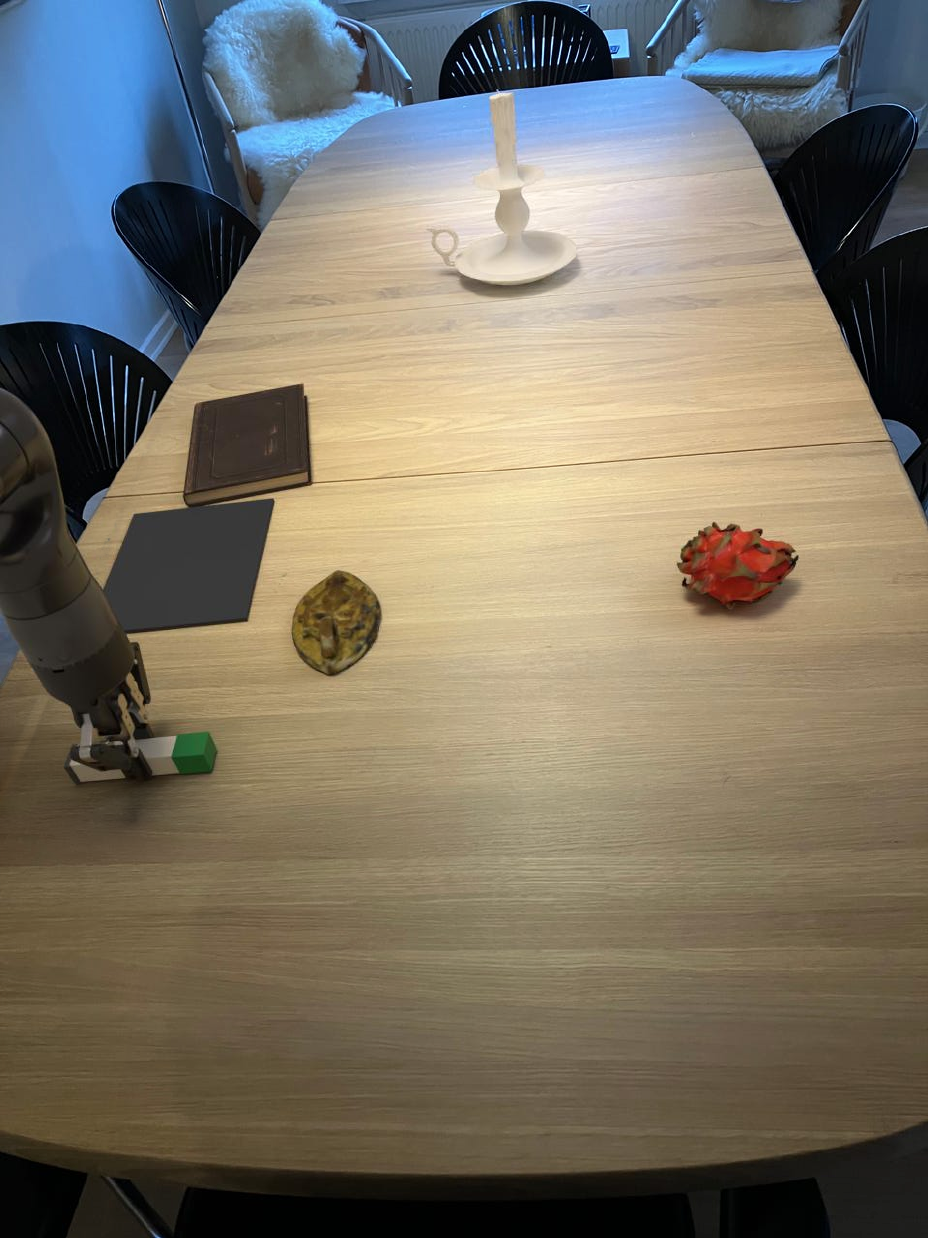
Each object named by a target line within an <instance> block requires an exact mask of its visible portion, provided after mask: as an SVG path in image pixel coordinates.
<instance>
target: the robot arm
mask: <svg viewBox="0 0 928 1238" xmlns="http://www.w3.org/2000/svg"><path fill="white" fill-rule="evenodd" d="M57 465H58V464H57V461H56V455H55V452H54V449H53V446H52V443H51V440H50V438H49V435H48V433H47V430H46V429H45V427H44V426H43V424H42V422H41V421H40V419H39V418H38V417H37V415H36V414H35V413H34V411H33V410H32V409H31V408H30V407H29V406H28V405H27V403H25V402H24V401H22V400H21V399H20V398H19V397H18V396H16V395H14V394H13V393H11V392H9V391H8V390H6V389H3V388H2V387H0V614H1V615H2V617H3V620H4V622H5V625H6V627H7V629H8V632H9V633H10V635H11V637H12V639H13V640H14V642H15V643H16V645H17V647H18V648H19V650H20V652H21V653H22V654H23V656H24V658H25V659H26V661H27V662H28V665H29V666H30V667H31V669H32V671H33V673H34V674H35V675H36V677H37V678H38V680H39V682H40V683H41V685H42V686H43V688H44V689H45V691H46V693H48V695H49V696H51V697H52V698H54V699H55V700H57V701H60V702H61V703H63V704H65V705H67V706H68V707H69V708H70V709H71V712H72V716H73V721H74V723H75V725H76V726H77V727H78V728H80V729H81V730H80V743H78V745H79V746H72V745H71V746H72V747H70V749H71V750H70V749H69V752H70V757H71V759H72V760H73V761H75V762H78V763H80V764H83V765H85V766H88V767H90V768H93V769H95V770H98V771H101V772H103V771H108V770H119V769H121V771H122V773H123V774H124V776H125V778H124V779H125V780H126V781H127V782H129V783H133V782H144V781H149V780H151V779H152V776H153V775H152V770H151V768H150V766H149V764H148V763H147V761H146V759H145V757H144V755H143V753H142V751H141V749H140V748H138V745H137V743H136V741H135V740H140V739H151V738H156V735H155V733H154V732H153V729H152V727H151V725H150V724H149V720H150V715H149V712H148V710H147V708H146V705H149V704H151V701H152V695H151V689H150V687H149V682H148V677H147V673H146V669H145V663H144V659H143V655H142V649H141V645H140V643H139V642H138V641H132V642H131V641H130V639H129V637H128V635H127V633H125V631H124V629H123V627H122V625H121V623H120V621H119V619H118V617H117V615H116V614H115V612H114V610H113V608H112V606H111V604H110V602H109V600H108V598H107V596H106V594H105V592H104V591H103V587H102V586H101V584H100V583H99V582H98V581H97V579H96V577H94V575H93V574H92V572H91V570H90V569H89V566H88V565H87V563H86V561H85V559H84V557H83V555H82V553H81V551H80V550H79V548H78V546H77V543H76V541H75V539H74V537H72V535H71V532H70V530H69V527H68V522H67V514H66V513H67V511H66V505H65V502H64V496H63V491H62V485H61V480H60V475H59V471H58V466H57ZM136 684H137V685H136ZM116 741H120V742H122V743H123V744H121V745H115V744H114V742H116Z"/></svg>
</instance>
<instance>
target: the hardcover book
mask: <svg viewBox="0 0 928 1238" xmlns="http://www.w3.org/2000/svg"><path fill="white" fill-rule="evenodd" d="M192 416H193V417H192V423H191V429H190V430H191V431H190V438H189V446H188V454H187V462H186V468H185V469H186V470H185V476H184V484H183V493H182V500H183V502H184V504H185V506H187V507H188V508H190V507H199V506H207V505H213V504H216V503H217V504H218V503H222V502H227V501H232V500H238V499H243V498H249V497H254V496H259V495H264V494H269V493H274V492H275V493H276V492H279V491H285V490H291V489H296V488H300V487H306V486H311V485H312V483H313V482H312V466H311V465H312V463H311V447H310V446H311V445H310V428H309V427H310V426H309V411H308V395H307V394H306V395H305V383H304V382H302V383H297V384H291V385H286V386H280V387H275V388H269V389H265V390H264V389H263V390H258V391H254V392H253V391H252V392H248V393H243V394H237V395H232V396H227V397H221V398H216V399H211V400H205V401H200V402H197V403H195V404H194V408H193V415H192Z"/></svg>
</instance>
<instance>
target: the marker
mask: <svg viewBox="0 0 928 1238" xmlns="http://www.w3.org/2000/svg"><path fill="white" fill-rule="evenodd" d="M135 741H136V743H137V745H138V748H140V749H141V751H142V753H143V755H144V757H145V759H146V761H147V763H148V764H149V766H150V768H151V770H152V776H162V775H170V774H171V775H173V774H179V775H186V774H197V773H207V772H212V771H213V767H214V764H215V763H214V762H215V757H216V753H217V746H216V744H215V742H214V739H213V738H212V736H211V733H210V731H201V732H189V733H178V734H177V735H170V736H159V737H155V738H151V739H140V740H135ZM114 744H115V745H121V744H123V743H122V742H120V741H115V742H114ZM72 746H79V743H75V744H74V743H73V744H71V747H72ZM71 747H70V749H69V752H68V754H67V757H66V760H65V763H64V765H63V769H64V770H65V772H66V773H67V775H68V776H69V777H70V780H71V781H72V782H73V784H76V785H78V784H81V783H84V782H95V781H106V780H107V781H108V780H119V779H126V778H125V776H124V774H123V773H122V771H121V769H119V770H108V771H103V772H101V771H98V770H95V769H93V768H90V767H88V766H85V765H83V764H80V763H78V762H75V761H73V760H72V759H71V757H70V750H71Z"/></svg>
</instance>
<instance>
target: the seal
mask: <svg viewBox="0 0 928 1238" xmlns="http://www.w3.org/2000/svg"><path fill="white" fill-rule="evenodd" d="M381 613H382V611H381V605H380V601H379V598H378V596H377V594H376V593H375V592H374V590H373V589H372V588H371V587H370V586H369V585H368V584H367V583H366V582H364V581H363V580H362V579H360V578H359V577H358V576H356V575H354V574H353V573H351V572H349V571H346V570H345V571H344V570H335V571H333V572H332V573H330V574H329V575H328V576H326V577H325V578H324V579H322V580H321V581H320V582H318V583H317V584H315V585H313V587H311V588H310V589H308V591H307V592H305V594H304V595H303V596H302V597H301V598H300V599H299V601H298V602H297V604H296V606H295V609H294V612H293V615H292V623H291V639H292V643H293V645H294V647H295V650H296V652H297V654H298V655H299V657H300V658H301V659H302V660H303V661H305V663H306V664H307V665H309V666H310V667H312V668H314V669H315V670H318V671H320V672H322V673H324V674H327V675H334V674H337V673H339V672H342V671H344V670H345V669H347V668H348V667H350V666H352V665H354V664H355V663H356V662H357V661H359V660H360V659H361V658H362V657H364V655H365V654H366V652H367V651H368V650H369V649H370V648H371V646H372V645H373V643H374V642H375V639H376V637H377V633H378V625H379V621H380V617H381Z"/></svg>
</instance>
